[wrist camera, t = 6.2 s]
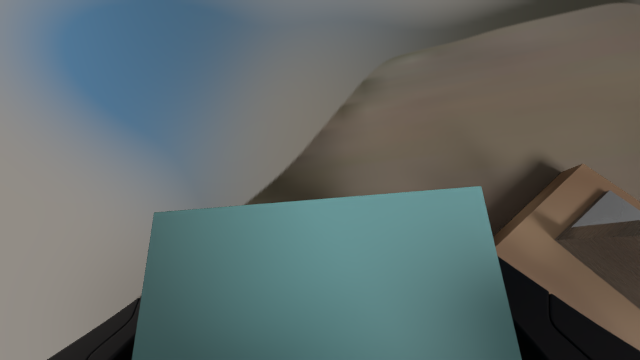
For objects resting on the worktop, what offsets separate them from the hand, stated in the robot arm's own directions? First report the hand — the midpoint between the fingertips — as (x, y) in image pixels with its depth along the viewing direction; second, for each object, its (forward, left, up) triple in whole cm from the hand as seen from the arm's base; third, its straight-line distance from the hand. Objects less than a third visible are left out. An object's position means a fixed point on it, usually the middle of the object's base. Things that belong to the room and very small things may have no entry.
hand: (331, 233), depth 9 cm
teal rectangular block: (-1, -1, -7) cm, 7 cm away
